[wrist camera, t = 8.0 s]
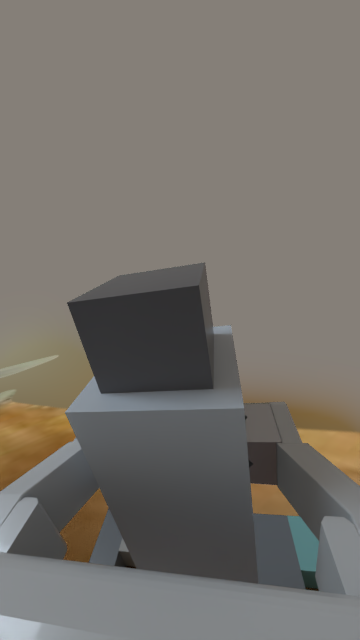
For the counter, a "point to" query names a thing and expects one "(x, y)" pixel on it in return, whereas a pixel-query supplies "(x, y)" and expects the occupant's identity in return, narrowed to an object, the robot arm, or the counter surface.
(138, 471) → the plug
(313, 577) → the panel
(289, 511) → the counter surface
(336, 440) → the counter surface
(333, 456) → the counter surface
